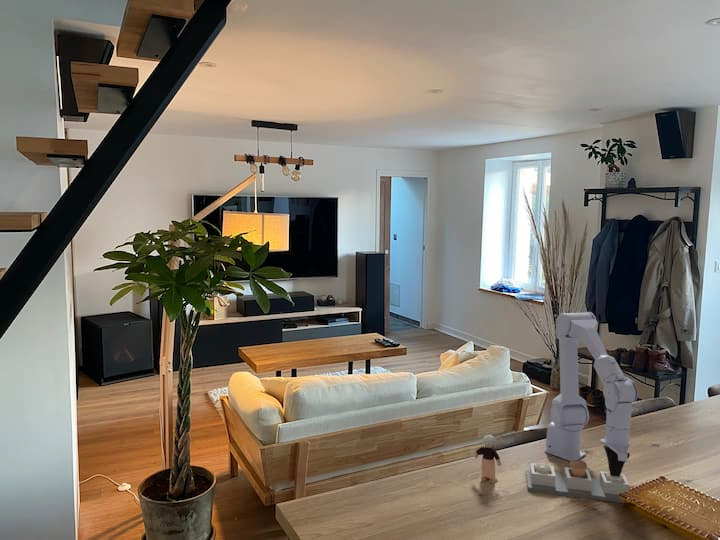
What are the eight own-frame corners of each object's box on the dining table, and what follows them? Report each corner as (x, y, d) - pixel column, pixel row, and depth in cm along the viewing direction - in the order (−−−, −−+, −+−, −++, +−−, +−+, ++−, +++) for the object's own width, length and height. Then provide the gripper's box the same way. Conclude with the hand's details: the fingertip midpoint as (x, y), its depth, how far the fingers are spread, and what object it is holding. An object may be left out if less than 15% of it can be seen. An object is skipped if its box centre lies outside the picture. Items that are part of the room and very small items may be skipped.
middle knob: (571, 478, 143) (571, 465, 143) (568, 470, 147) (569, 458, 147) (587, 480, 142) (587, 467, 142) (584, 472, 146) (585, 460, 146)
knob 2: (607, 490, 141) (608, 477, 141) (604, 482, 145) (604, 470, 145) (623, 492, 141) (624, 479, 140) (620, 484, 144) (621, 472, 144)
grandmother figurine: (502, 479, 150) (504, 435, 148) (499, 485, 146) (501, 440, 145) (474, 473, 153) (476, 430, 151) (471, 479, 149) (473, 435, 148)
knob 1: (535, 481, 146) (535, 469, 145) (534, 474, 150) (534, 462, 149) (550, 483, 145) (551, 470, 144) (549, 476, 149) (549, 464, 148)
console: (527, 490, 143) (528, 476, 143) (525, 472, 153) (526, 459, 153) (634, 504, 137) (635, 489, 137) (625, 484, 147) (626, 470, 147)
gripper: (596, 413, 149) (593, 460, 150) (607, 435, 135) (603, 486, 136) (624, 416, 147) (620, 463, 149) (638, 438, 133) (634, 490, 135)
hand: (614, 475), depth 142 cm, fingers closed, pressing on knob 2
